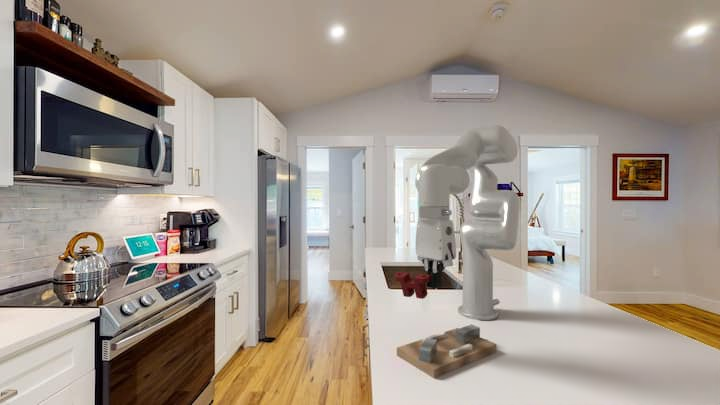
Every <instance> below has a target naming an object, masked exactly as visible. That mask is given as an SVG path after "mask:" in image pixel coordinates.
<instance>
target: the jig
mask: <svg viewBox="0 0 720 405" xmlns="http://www.w3.org/2000/svg"><path fill="white" fill-rule="evenodd" d="M480 333H481V327H480V326H476V325H474V324H469V325H465V326H463V327H459V328H458V327H455V328H453V329H451V330H446V331H444V332H443V331H441V332H439V333H436V334H432V335H429V336H427V337H423V338H422V339H419V340H417V341H413V342H410V343H407V344H404V345H401V346H397V347H396V356H397V357H399V358H400V359H402V360H403V361H405V362H406V363H408V364H410V365H411V366H413V367H415V368H416V369H418V370H419V371H421V372H422V373H425V375H427V376H429V377H431V378H433V379H435V378H438V377H441V376H444V375H445V374H448V373H450V372H453V371H456V370H458V369H460V368H462V367H465V366H467V365H470V364H472V363H474V362H476V361H477V362H478V361H479V360H481V359H484V358H486V357H489V356H490V355H493V354H495V353H497V343H495V342H493V341H491V340H488V339H485V338H482V337H481V334H480Z"/></svg>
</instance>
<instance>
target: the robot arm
mask: <svg viewBox="0 0 720 405" xmlns="http://www.w3.org/2000/svg"><path fill="white" fill-rule="evenodd" d="M518 149H519V148H518V143H517V141H516V139H515V138H514V137H513V135H512V134H511V132H510V131H509V130H508V129H507V128H506V127H504V126H503V125H499V124H493V125H487V126H486V125H485V126H480V127H472V128H469V129H468V130H466V131H464V132H463V133H462V134H461V136H460V137H459V138H458V139H457V141H455V143H454V144H453V145H452V147H450V148H447V149H445V150H443V151H441V152H439V153H437V154H435V155H433V156H432V157H430V158H428V159H426V161H425V162H424V163H423V164H422V165H421V166H420V168H419V169H418V171H417V172H416V175H415V180H414V181H415V182H414V183H415V187H416V190H417V191H418V219H417V224H416V230H415V253H416V255H417V257H416V258H417V260H418V261H419V262H422V264H423V266H424V270H425V271H426V274H427V275H431V280H430V281H429V282H427V283H426V288H431V289H433V290H434V289H439V288H442V286H443V284H442V283H443V282H442V280H443V278H442V276H443V274H442V273H443V272H444V271H445V269H446V268H447V267H448V268H449V267H453V265H454V263H453V260H456V258H457V240H456V232H455V227H454V222H453V220H452V219H450V218H451V217H450V216H451V215H452V214H453V212H452V209H451V208H450V205H451V204H450V203H451V201H450V200H451V198H450V196H451V195H460V194H462V193H464V192H466V191H467V190H468V189H469V186H470V180H471V187H470V195H469V201H468V213H469V214H470V215H471V216H472V217H474V218H475V219H467V220H466V221H464V222H463V223H462V224H461V225H460V227H459V236H460V243H461V251H462V305H460V306H458V307H457V313H458V314H459V315H461V316H463V317H465V318H467V319H472V320H477V321H490V320H491V321H492V320H496V319H497V318H498V317H499V312H498V311H497V310H496V309H495V306H497V305H500V303H501V301H500V299H499V298H494V297H493V296H494V294H493V293H494V280H493V279H494V263H493V262H494V261H493V259H492V257H491V256H490V254H489V253H488V251H487V250H494V251H495V250H497V251H512V250H513V249H514V248H515V247H516V244H517V241H518V240H517V239H518V232H519V231H518V230H519V229H518V228H519V219H520V197H519V195H518V194H517V192H516V191H514V190H512V189H511V190H508V189H498V183H499V180H498V176H497V175H496V174H495V172H493V170H492V169H491V168H489V167H488V166H487V165H497V164H508V163H511V162H514V161H515V160H516V158H517V156H518V153H519V151H518ZM467 170H469V172H470V175H471V179H470V175H469V172H468V171H467ZM477 218H481V219H477ZM483 218H484V219H483ZM492 219H493V220H492ZM494 219H496V220H494ZM497 219H501V220H497Z"/></svg>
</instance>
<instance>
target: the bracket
mask: <svg viewBox="0 0 720 405" xmlns="http://www.w3.org/2000/svg"><path fill="white" fill-rule="evenodd" d="M394 280H395V281H396V282H400V285H401V286H400V287H401V290H402V295H403V297H406V298H407V297H408V298H411V297H412V296H414V294H415V297H416V299H425V298H426V297H427V296H428V289H427V288H428V287H427V282H429V281H430V280H431V275H427V273H426V274H425V273H418V274H417V275H416V276H415V277H413V278H411V276H410V273H409V272H399V271H398V272H397V273H395V274H394Z"/></svg>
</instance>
